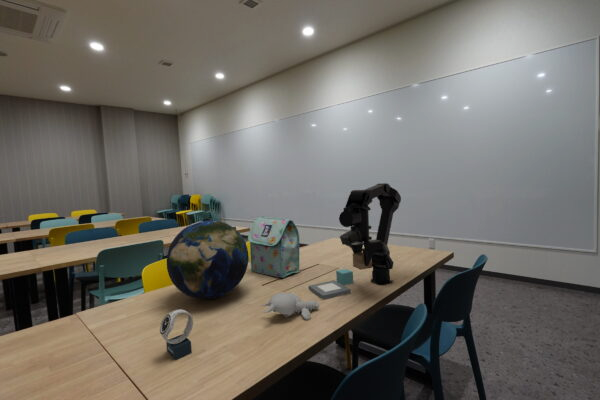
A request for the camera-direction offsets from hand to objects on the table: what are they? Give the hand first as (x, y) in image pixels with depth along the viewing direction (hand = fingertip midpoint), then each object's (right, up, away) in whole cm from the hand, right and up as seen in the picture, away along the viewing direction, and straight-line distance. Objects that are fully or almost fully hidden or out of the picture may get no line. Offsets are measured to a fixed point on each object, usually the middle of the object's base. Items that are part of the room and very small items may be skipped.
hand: (362, 264), depth 111 cm
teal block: (-5, -11, +12) cm, 17 cm away
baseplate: (-12, -11, +4) cm, 17 cm away
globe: (-58, -14, +4) cm, 60 cm away
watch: (-55, -16, -34) cm, 67 cm away
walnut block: (0, -1, 0) cm, 1 cm away
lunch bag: (-36, -11, +32) cm, 49 cm away
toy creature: (-27, -14, -16) cm, 34 cm away
